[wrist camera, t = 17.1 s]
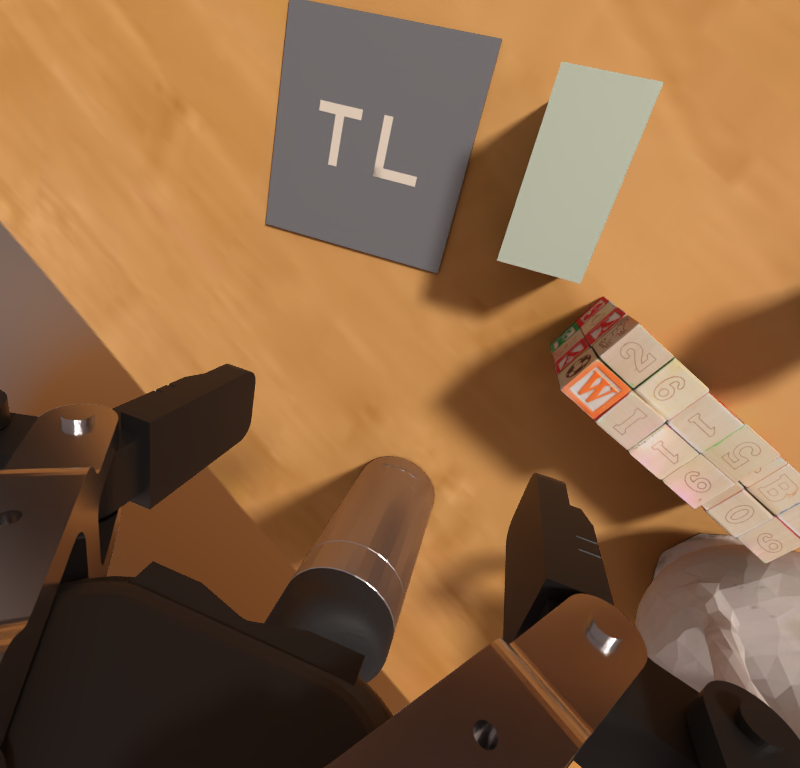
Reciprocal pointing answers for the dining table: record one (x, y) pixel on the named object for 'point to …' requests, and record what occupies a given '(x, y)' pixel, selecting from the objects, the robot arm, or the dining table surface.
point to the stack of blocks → (679, 429)
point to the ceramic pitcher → (727, 620)
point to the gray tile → (375, 129)
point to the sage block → (576, 169)
